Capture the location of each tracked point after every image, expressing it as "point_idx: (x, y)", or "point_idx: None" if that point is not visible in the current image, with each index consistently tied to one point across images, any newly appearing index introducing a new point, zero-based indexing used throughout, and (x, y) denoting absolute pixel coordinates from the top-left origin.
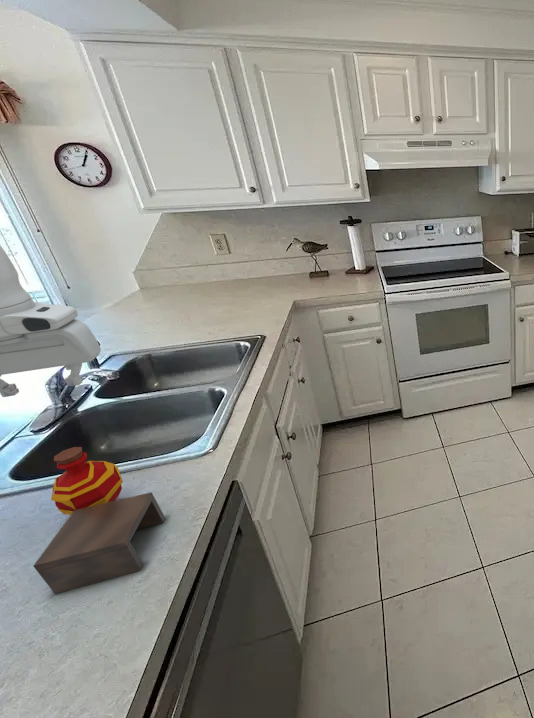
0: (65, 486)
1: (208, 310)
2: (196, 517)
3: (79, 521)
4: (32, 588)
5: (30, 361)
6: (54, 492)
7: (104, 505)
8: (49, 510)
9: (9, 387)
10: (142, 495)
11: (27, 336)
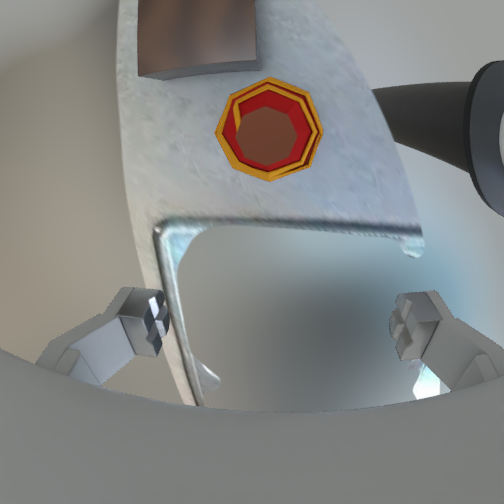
0: (278, 94)
1: None
2: (122, 75)
3: (230, 28)
4: (294, 4)
5: (171, 489)
6: (308, 105)
7: (204, 57)
8: (358, 163)
9: (414, 328)
10: (149, 70)
11: None
